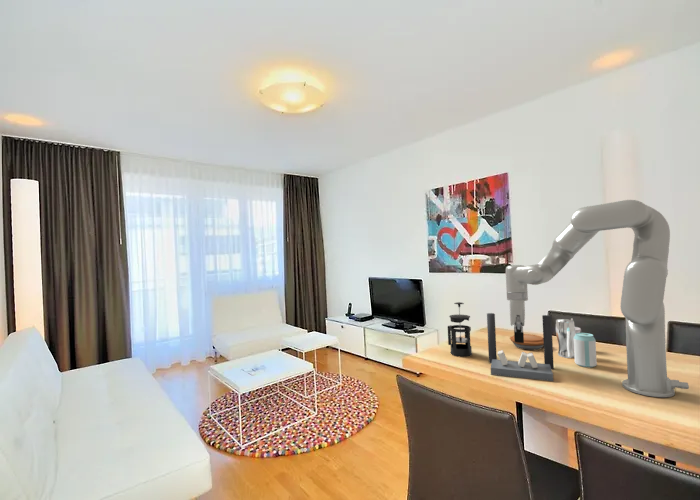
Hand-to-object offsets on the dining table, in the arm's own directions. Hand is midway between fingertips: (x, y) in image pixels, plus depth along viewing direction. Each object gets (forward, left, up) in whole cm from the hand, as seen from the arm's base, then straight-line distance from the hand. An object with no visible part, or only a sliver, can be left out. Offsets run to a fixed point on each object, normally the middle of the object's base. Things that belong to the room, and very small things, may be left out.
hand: (519, 339), depth 136 cm
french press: (+24, -9, -10) cm, 28 cm away
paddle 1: (+5, +9, -8) cm, 13 cm away
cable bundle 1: (+10, 0, -10) cm, 14 cm away
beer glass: (-18, -19, -10) cm, 28 cm away
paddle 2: (-5, +9, -8) cm, 13 cm away
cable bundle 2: (-10, 0, -10) cm, 14 cm away
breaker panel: (0, +9, -10) cm, 14 cm away
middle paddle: (0, +9, -8) cm, 12 cm away
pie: (-4, -30, -11) cm, 32 cm away
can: (-23, -8, -10) cm, 27 cm away
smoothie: (-22, -30, -10) cm, 39 cm away
